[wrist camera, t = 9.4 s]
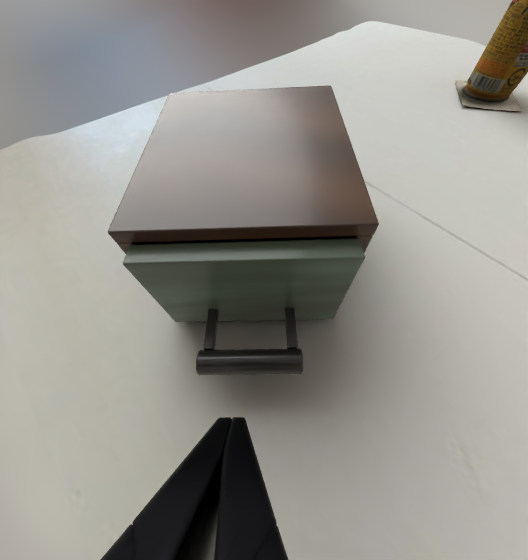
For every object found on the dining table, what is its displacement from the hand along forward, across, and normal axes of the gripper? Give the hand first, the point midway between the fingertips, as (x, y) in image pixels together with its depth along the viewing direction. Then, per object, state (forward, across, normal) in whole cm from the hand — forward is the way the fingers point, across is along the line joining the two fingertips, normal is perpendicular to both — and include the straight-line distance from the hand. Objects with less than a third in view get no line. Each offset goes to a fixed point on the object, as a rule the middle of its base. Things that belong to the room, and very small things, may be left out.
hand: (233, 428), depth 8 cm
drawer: (+13, 0, -3) cm, 13 cm away
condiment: (+35, -33, -24) cm, 54 cm away
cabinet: (+16, 0, -5) cm, 17 cm away
